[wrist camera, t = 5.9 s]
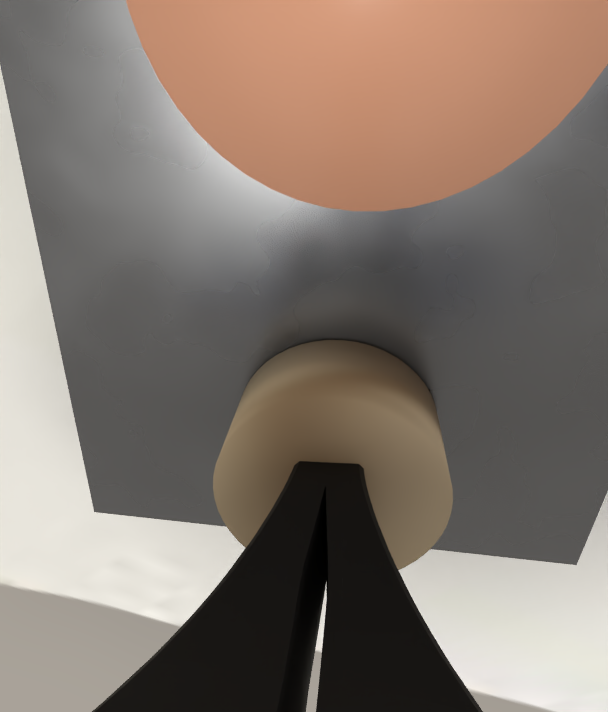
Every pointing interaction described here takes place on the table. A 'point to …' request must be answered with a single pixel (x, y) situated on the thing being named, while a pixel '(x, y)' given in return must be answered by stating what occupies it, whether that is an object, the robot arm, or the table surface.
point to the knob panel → (307, 291)
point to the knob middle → (373, 87)
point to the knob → (339, 441)
